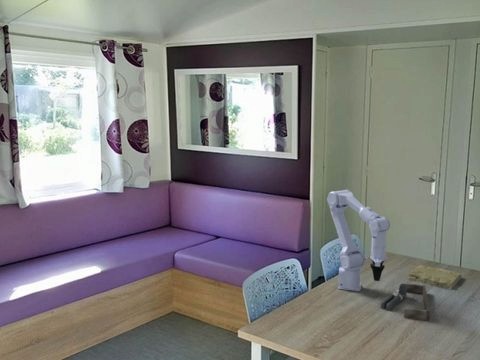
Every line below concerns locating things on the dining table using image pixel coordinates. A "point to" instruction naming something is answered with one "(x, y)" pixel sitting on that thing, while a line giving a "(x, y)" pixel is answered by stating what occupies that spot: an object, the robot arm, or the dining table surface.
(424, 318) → the box
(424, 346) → the dining table surface
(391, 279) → the dining table surface
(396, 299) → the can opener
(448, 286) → the decorative tile
